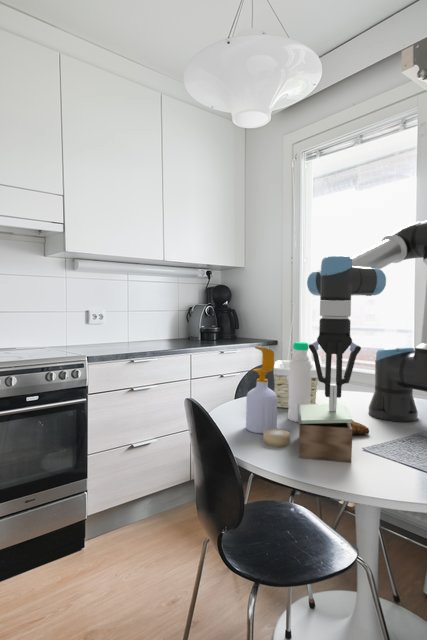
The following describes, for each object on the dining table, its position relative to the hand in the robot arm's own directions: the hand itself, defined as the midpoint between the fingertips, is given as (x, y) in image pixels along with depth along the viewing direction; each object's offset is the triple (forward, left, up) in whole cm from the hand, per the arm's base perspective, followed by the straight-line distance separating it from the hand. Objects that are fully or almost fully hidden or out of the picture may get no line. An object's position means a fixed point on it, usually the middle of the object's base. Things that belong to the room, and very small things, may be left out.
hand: (332, 409), depth 103 cm
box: (+2, 0, -10) cm, 11 cm away
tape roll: (+14, -2, -10) cm, 18 cm away
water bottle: (+8, -25, -11) cm, 28 cm away
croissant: (-5, -14, -11) cm, 19 cm away
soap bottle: (+19, -12, -11) cm, 25 cm away
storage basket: (+10, -49, -11) cm, 51 cm away
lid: (+2, 0, -2) cm, 3 cm away
